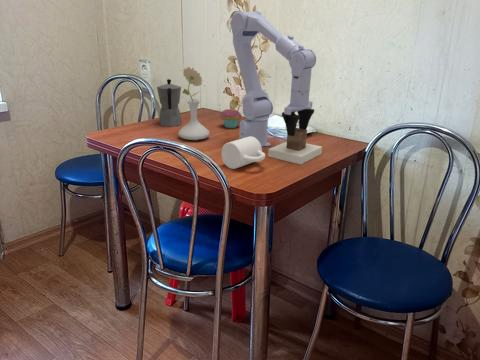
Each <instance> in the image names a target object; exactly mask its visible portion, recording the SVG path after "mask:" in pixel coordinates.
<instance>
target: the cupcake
mask: <svg viewBox="0 0 480 360" xmlns="http://www.w3.org/2000/svg"><path fill="white" fill-rule="evenodd" d="M235 104H236V98H234V99H233V103H232V109H231V108H229V109H224V110H223V111H221V112H220V114H219V118H220V119H221V120H222V122H223V125H224V128H226V129H227V128H228V129H235V128H237V126H238V123H239V121H240V120H241V119H242V114H241V112H240V111H239V110H237V109H235Z"/></svg>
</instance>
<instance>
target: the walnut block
mask: <svg viewBox="0 0 480 360" xmlns="http://www.w3.org/2000/svg"><path fill="white" fill-rule="evenodd" d="M307 135H308V129H306V130H305V129H300V128H299V127H296V130H295V135H294V136H289V135H287V136H286V142H287V146H286V148H288V149H292V150H297V151H300V150H302V149H304V148H306V143H307V137H308V136H307Z"/></svg>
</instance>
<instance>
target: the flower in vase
mask: <svg viewBox="0 0 480 360" xmlns="http://www.w3.org/2000/svg"><path fill="white" fill-rule="evenodd" d="M182 71H183V72H182V73H183V76H184V77H185V80H186V81H187V82H188V84H187V85H188V86H187V89H186V88H184V89H183V91H181V92H182V93H183V94H185V95H186V96H189V97H190V99H189V98H188V99H186V103H187V104H188V106H189V109H190V111H189V113H190V119H189V121H188V123H186V124H185V125H184V126H183V127H181V129H179V131H178V134H177V135H178V137H180V138H181V139H184V140H189V141H190V140H191V141H199V140H203V139H206V138H208V137H209V136H210V135H211V134H210V131H209V130H208V128H206V126H204V125H203V124H202V123H200V122H199V120H198V106H199V104H200V102H202V101H201V99H199V98H197V99H196V98H195V99H194V98H193V97H194V96H196V95H197V94H198V92H195V93H193V94H192V95H191V93H190V86H191V85H193V86H194V87H200V86H201V85H203V84H202V83H203V79H202V76H201V74H200V72H198V70H196V69H195V68H193V67H192V68H190V66H187V67H186V68H184V69H183V70H182ZM182 93H181V94H182Z"/></svg>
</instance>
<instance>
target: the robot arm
mask: <svg viewBox="0 0 480 360" xmlns="http://www.w3.org/2000/svg"><path fill="white" fill-rule="evenodd" d="M229 25H230V29H231V33H232V45H233V48H234V52H235V55H236V60H237V64H238V68H239V70H240V71H239V72H240V75H241V79H242V82H243V86H244V90H245V95H244V96H243V98H242V100H241V103H242V114H243V116H244V117H245V119H242V120H241V119H240V122H239V133H238V134H239V135H238V136H239V137H238V138H239V139H242V138H246V137H249V136H252V137H255V138H256V139H257V140H258V141H259V142H260V144H261V147H262V148H263V147H270V146H271V143H270V142H268V125H269V119H270V116H272V114H273V110H274V105H273V102H272V100H271V99H270V98H269V94H268V92H266V91H265V90H264V89H263V88H262V85H261V81H260V78H259V73H258V70H257V67H256V62H255V57H254V54H253V53H254V52H253V49H252V45H251V43H252V41H253V40H254V39H255V37H256V36H257V35H258V34H259V33H260V35H262V36H264V37H265V38H266V39H268V40H269V41H270V42H271V43H273V45H274V44H275V46H274V47H275V50H276V51H277V52H278V53H279V54H280V55H281V56H282V57H283V58H285V60H287V61H288V64H289V67H290V69H291V72H290V74H291V89H290V97H289V98H290V99H289V104H288V105H287V106H286V107H284V110H283V112H282V113H281V116H282V119H283V121H284V124H285V129H286V134H287V135H289V136H294V135H295V130H296V128H297V125H298V128H300V129H305V130H308V129H307V128H308V125H309V122H310V120H311V118H312V116H313V115H314V113H315V109H314V108H313V104H314V103H313V101H310V100H309V99H310V91H311V78H312V69H313V68H314V67H315V65H316V63H317V56H316V54H315V52H314V51H313V50H312V49H305V47H304V45H303V44H299V43H298V42H297V41H296V40H295V39H294V35H290V34H284V35H283V34H282V33H281V32H279V30H277V28H275V27H274V25H273V24H271V22H269V21H268V20H267V18H266V15H263V14H262V13H261V12H259V11H241V10H236V11H235V12H234V13H233V15H232V17H231V20H230V22H229ZM296 113H297V114H296ZM239 139H238V140H239Z"/></svg>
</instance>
